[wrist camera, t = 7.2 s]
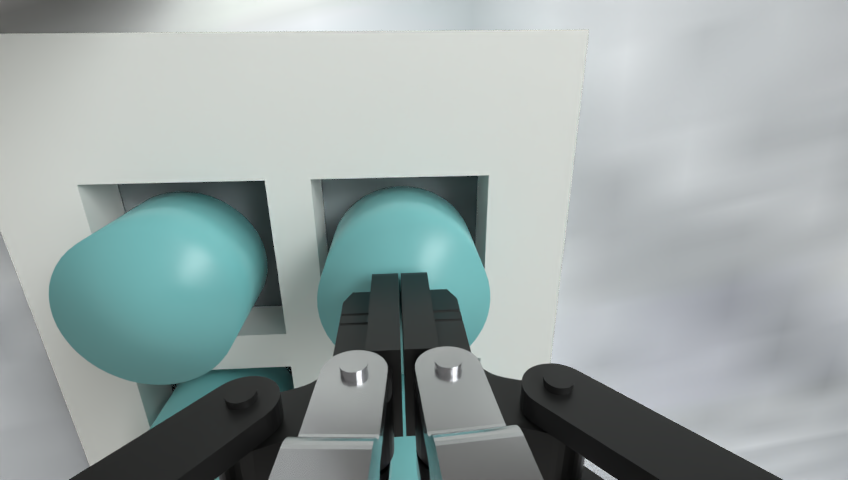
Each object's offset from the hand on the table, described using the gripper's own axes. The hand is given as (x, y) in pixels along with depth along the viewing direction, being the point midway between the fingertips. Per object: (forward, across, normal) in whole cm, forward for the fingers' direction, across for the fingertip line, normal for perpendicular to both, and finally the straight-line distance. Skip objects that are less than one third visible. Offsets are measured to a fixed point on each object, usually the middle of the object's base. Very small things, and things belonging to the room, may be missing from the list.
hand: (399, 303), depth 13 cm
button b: (+4, +7, 0) cm, 8 cm away
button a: (+4, 0, 0) cm, 4 cm away
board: (+5, +3, +5) cm, 8 cm away
